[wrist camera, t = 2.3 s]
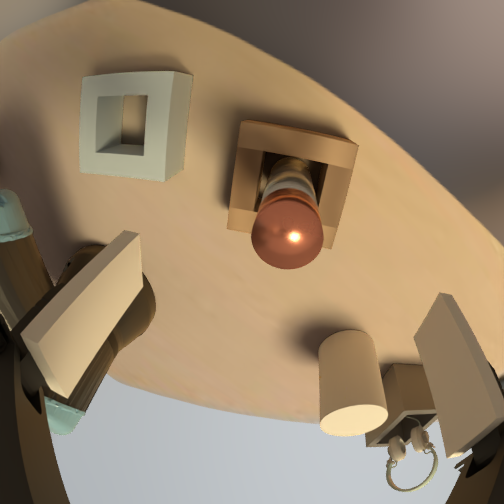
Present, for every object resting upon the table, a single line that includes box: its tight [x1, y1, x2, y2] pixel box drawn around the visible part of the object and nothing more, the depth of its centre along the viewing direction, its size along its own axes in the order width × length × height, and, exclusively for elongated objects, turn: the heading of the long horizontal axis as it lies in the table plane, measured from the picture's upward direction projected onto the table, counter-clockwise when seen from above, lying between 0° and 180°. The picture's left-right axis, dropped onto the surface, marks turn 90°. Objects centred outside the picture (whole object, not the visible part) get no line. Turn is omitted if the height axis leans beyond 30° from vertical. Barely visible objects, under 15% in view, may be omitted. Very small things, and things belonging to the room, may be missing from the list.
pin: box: [251, 157, 324, 269], centre depth 22 cm, size 4×4×14 cm
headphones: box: [386, 416, 438, 492], centre depth 33 cm, size 8×4×20 cm, turn 136°
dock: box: [79, 71, 193, 182], centre depth 25 cm, size 10×10×5 cm
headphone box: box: [365, 363, 438, 447], centre depth 38 cm, size 8×12×9 cm
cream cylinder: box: [318, 330, 388, 436], centre depth 33 cm, size 8×8×12 cm
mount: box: [227, 120, 359, 249], centre depth 27 cm, size 10×10×4 cm
